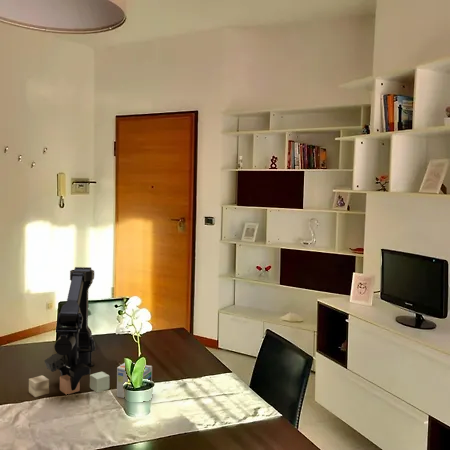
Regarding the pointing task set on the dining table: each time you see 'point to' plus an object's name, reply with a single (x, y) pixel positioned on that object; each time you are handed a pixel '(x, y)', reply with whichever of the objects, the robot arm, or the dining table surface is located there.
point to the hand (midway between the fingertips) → (69, 387)
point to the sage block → (99, 381)
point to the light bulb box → (123, 377)
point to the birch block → (38, 386)
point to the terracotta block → (67, 385)
